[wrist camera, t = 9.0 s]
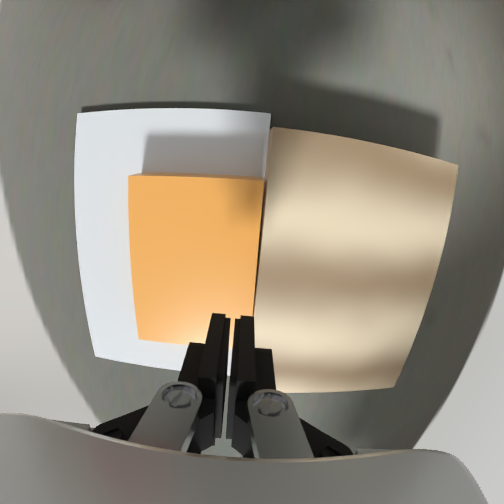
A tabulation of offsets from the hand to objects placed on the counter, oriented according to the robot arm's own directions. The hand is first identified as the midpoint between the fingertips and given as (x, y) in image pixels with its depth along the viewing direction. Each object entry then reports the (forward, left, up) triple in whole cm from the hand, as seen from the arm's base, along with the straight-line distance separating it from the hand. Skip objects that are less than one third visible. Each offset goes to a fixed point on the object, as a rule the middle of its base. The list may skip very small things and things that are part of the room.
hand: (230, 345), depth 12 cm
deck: (+1, -7, -8) cm, 10 cm away
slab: (+1, +2, -7) cm, 8 cm away
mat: (+1, +5, -8) cm, 9 cm away
